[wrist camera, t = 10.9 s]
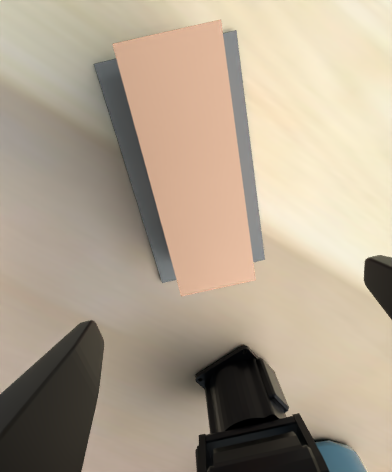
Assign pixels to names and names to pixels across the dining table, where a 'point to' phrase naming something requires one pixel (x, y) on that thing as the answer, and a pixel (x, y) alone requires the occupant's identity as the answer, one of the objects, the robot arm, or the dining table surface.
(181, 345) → the dining table surface
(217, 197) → the terracotta block
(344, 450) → the blue bottle
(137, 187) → the mat
